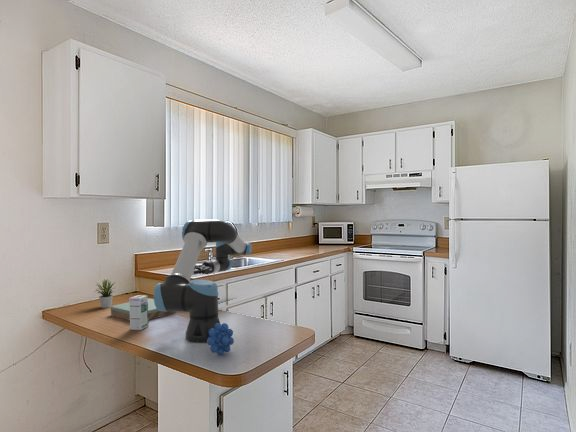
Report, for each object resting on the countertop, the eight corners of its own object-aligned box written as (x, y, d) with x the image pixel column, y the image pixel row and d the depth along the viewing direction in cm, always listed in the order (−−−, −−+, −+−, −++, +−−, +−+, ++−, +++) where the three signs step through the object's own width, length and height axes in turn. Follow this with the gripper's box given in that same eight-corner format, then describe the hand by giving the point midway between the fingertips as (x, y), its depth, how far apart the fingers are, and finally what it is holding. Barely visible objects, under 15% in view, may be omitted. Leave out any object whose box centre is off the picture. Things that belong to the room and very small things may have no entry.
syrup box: (141, 330, 162) (140, 297, 162) (129, 329, 164) (128, 297, 164) (148, 326, 168) (148, 295, 168) (137, 325, 169) (136, 294, 169)
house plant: (88, 306, 208) (88, 277, 208) (114, 302, 217) (114, 275, 217) (93, 311, 197) (92, 281, 197) (120, 307, 205) (120, 278, 205)
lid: (148, 300, 206) (147, 285, 206) (176, 306, 192) (176, 290, 192) (110, 309, 188) (110, 292, 188) (138, 316, 174) (138, 298, 174)
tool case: (148, 306, 206) (148, 301, 206) (176, 312, 192) (175, 306, 192) (111, 315, 188) (111, 309, 188) (138, 322, 174) (138, 316, 174)
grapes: (215, 363, 124) (214, 328, 124) (203, 358, 129) (202, 324, 129) (241, 353, 133) (240, 320, 133) (229, 349, 137) (228, 317, 137)
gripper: (225, 275, 209) (195, 281, 191) (196, 271, 222) (167, 277, 205) (224, 262, 209) (195, 267, 191) (196, 259, 222) (166, 264, 205)
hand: (180, 272), depth 198 cm, fingers open, 12 cm apart
